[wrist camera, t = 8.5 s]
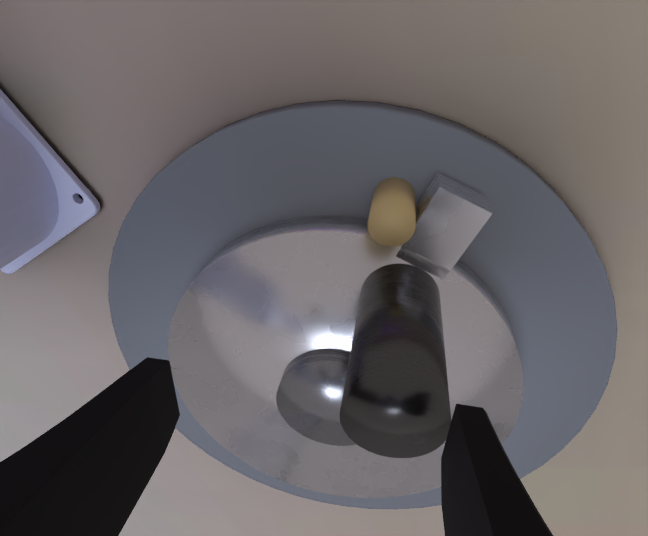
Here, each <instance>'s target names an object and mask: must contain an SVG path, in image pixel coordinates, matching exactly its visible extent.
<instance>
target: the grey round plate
mask: <svg viewBox="0 0 648 536" xmlns="http://www.w3.org/2000/svg"><path fill="white" fill-rule="evenodd" d="M437 172H438V173H440V174H442V175H444V176H446V177H448V178H450V179H452V180H454V181H456V182H458V183H460V184H462V185H464V186H466V187H468V188H470V189H472V190H474V191H476V192H478V193H480V194H482V195H484V196H486V197H487V200H488V203H489V205H490V208H491V211H492V213H493V214H492V215H491V216H490V218H489V219H488V220H487V222H486V223H485V225H484V226H483V227H482V229H481V230H480V231H479V233H478V234H477V235H476V237H475V238H474V239H473V241H472V242H471V243H470V245H469V246H468V247H467V249H466V250H465V252H464V253H463V254H462V256H461V257H460V258H459V260H460V261H461V262H463V263H464V264H465V265H467V266H468V267H469V268H470V269H471V270H472V271H473V272H474V273H475V274H476V275H477V276H478V277H479V278H480V279H481V280H482V281H483V282H484V283H485V284H486V285H487V287H488V288H489V289H490V291H491V292H492V294H493V295H494V296H495V298H496V299H497V300H498V302H499V304H500V306H501V307H502V309H503V311H504V313H505V315H506V317H507V319H508V321H509V325H510V328H511V331H512V334H513V337H514V340H515V344H516V347H517V350H518V354H519V357H520V360H521V365H522V373H523V381H524V385H523V400H522V404H521V408H520V412H519V415H518V418H517V420H516V423H515V425H514V427H513V429H512V431H511V433H510V434H509V436H508V437H507V439H506V440H505V441H504V443H503V444H502V446H503V448H504V450H505V452H506V454H507V456H508V458H509V460H510V462H511V464H512V466H513V468H514V470H515V471H516V473H517V475H518V477H519V479H521V478H522V477H524V476H525V475H527V474H529V473H530V472H532V471H534V470H535V469H537V468H539V467H540V466H542V465H543V464H544V463H546V462H547V461H548V460H550V459H551V458H552V457H553V456H555V455H556V454H557V453H558V452H560V451H561V450H562V449H563V448H564V447H565V446H566V445H567V444H568V443H569V442H570V441H571V440H572V439H573V438H574V437H575V436H576V435H577V434H578V433H579V431H580V430H581V429H582V428H583V426H584V425H585V423H586V422H587V420H588V419H589V418H590V416H591V415H592V413H593V412H594V411H595V409H596V407H597V405H598V403H599V401H600V399H601V397H602V395H603V393H604V391H605V388H606V386H607V384H608V381H609V377H610V373H611V370H612V366H613V363H614V359H615V351H616V339H617V321H616V311H615V302H614V296H613V293H612V290H611V286H610V283H609V280H608V276H607V273H606V270H605V267H604V265H603V263H602V261H601V259H600V257H599V255H598V253H597V251H596V249H595V247H594V245H593V243H592V241H591V239H590V238H589V236H588V234H587V233H586V232H585V230H584V229H583V228H582V226H581V225H580V223H579V222H578V221H577V219H576V218H575V217H574V215H573V214H572V213H571V211H570V210H569V209H568V208H567V206H566V205H565V204H564V202H563V201H562V200H561V198H560V197H559V196H558V194H557V193H556V192H555V190H554V189H553V188H551V187H550V186H549V185H548V184H547V183H546V182H545V181H544V180H543V179H542V178H541V177H540V176H539V175H538V174H537V173H536V172H535V171H534V170H533V169H532V168H531V167H530V166H528V165H527V164H526V163H525V162H523V161H522V160H520V159H519V158H517V157H516V156H515V155H513V154H512V153H510V152H509V151H507V150H506V149H505V148H503V147H502V146H500V145H499V144H497V143H496V142H494V141H492V140H490V139H488V138H486V137H484V136H482V135H480V134H478V133H476V132H475V131H473V130H471V129H469V128H467V127H465V126H463V125H461V124H459V123H456V122H453V121H450V120H447V119H444V118H441V117H438V116H435V115H432V114H429V113H426V112H423V111H420V110H416V109H411V108H405V107H400V106H395V105H389V104H384V103H379V102H362V101H342V100H333V101H322V102H311V103H300V104H294V105H289V106H285V107H281V108H277V109H272V110H268V111H264V112H260V113H257V114H255V115H252V116H250V117H247V118H245V119H242V120H240V121H237V122H235V123H232V124H230V125H227V126H225V127H224V128H222V129H220V130H218V131H217V132H215V133H213V134H212V135H210V136H208V137H207V138H205V139H203V140H202V141H200V142H198V143H197V144H195V145H194V146H192V147H191V148H189V149H188V150H186V151H185V152H183V153H182V154H181V155H179V156H178V157H177V158H176V159H175V160H173V161H172V162H171V163H170V164H169V165H167V166H166V167H165V168H164V169H163V170H162V171H160V172H159V173H158V174H157V175H156V176H155V177H154V178H153V180H152V181H151V182H150V183H149V184H148V185H147V187H146V188H145V189H144V190H143V191H142V193H141V194H140V195H139V196H138V197H137V199H136V201H135V202H134V204H133V206H132V207H131V209H130V211H129V213H128V214H127V216H126V218H125V219H124V221H123V223H122V226H121V229H120V231H119V234H118V237H117V239H116V242H115V245H114V248H113V253H112V259H111V264H110V270H109V304H110V311H111V318H112V324H113V327H114V330H115V334H116V337H117V341H118V344H119V347H120V349H121V351H122V353H123V356H124V358H125V360H126V363H127V365H128V367H129V369H130V370H131V369H132V368H134V367H135V366H136V365H137V364H139V363H140V362H141V361H143V360H144V359H146V358H147V357H149V358H156V359H163V360H169V355H168V336H169V330H170V325H171V321H172V317H173V315H174V312H175V310H176V308H177V305H178V303H179V301H180V299H181V298H182V296H183V295H184V293H185V292H186V290H187V289H188V287H189V286H190V285H191V283H192V282H193V281H194V279H195V278H196V277H197V276H198V274H199V273H200V272H201V270H202V269H203V268H204V267H205V266H206V265H207V264H208V263H209V261H210V260H211V259H212V258H213V257H214V256H215V255H216V254H217V253H219V252H220V251H221V250H223V249H224V248H225V247H226V246H228V245H229V244H230V243H232V242H233V241H235V240H237V239H239V238H241V237H243V236H244V235H246V234H248V233H250V232H252V231H255V230H257V229H260V228H263V227H266V226H268V225H271V224H274V223H279V222H283V221H288V220H292V219H297V218H308V217H319V216H329V217H351V218H357V219H364V220H368V231H369V233H370V235H371V237H372V238H373V239H374V240H375V241H376V242H378V243H380V244H382V245H385V246H399V245H402V244H404V243H406V242H407V241H408V240H409V239H410V238H411V237H412V236H413V234H414V232H415V227H416V212H415V208H416V206H417V204H418V203H419V201H420V199H421V198H422V196H423V195H424V193H425V191H426V190H427V188H428V187H429V185H430V183H431V182H432V180H433V179H434V177H435V175H436V174H437ZM173 382H174V379H173ZM174 387H175V392H176V397H177V402H178V407H179V413H180V416H179V419H178V421H177V424H176V426H175V428H176V429H177V430H179V431H180V432H181V433H182V434H183V435H184V436H185V437H186V438H188V439H189V440H190V441H191V442H192V443H194V444H195V445H197V446H198V447H199V448H201V449H202V450H203V451H205V452H206V453H207V454H209V455H210V456H212V457H213V458H215V459H217V460H218V461H220V462H222V463H223V464H225V465H226V466H228V467H230V468H232V469H233V470H235V471H237V472H239V473H241V474H243V475H245V476H247V477H249V478H251V479H253V480H256V481H258V482H260V483H263V484H265V485H268V486H270V487H272V488H275V489H278V490H281V491H284V492H287V493H290V494H293V495H296V496H299V497H303V498H307V499H311V500H315V501H319V502H324V503H330V504H335V505H341V506H348V507H358V508H368V509H409V508H423V507H430V506H437V505H442V502H441V487H438V488H435V489H431V490H428V491H425V492H420V493H415V494H410V495H405V496H396V497H387V498H359V497H346V496H338V495H331V494H326V493H321V492H317V491H312V490H308V489H305V488H302V487H298V486H295V485H292V484H289V483H287V482H284V481H281V480H279V479H276V478H274V477H272V476H270V475H267V474H265V473H263V472H261V471H259V470H257V469H255V468H254V467H252V466H250V465H249V464H247V463H245V462H243V461H242V460H240V459H239V458H237V457H236V456H235V455H233V454H232V453H230V452H229V451H227V450H226V449H225V448H224V447H223V446H221V445H220V444H219V443H218V442H217V441H215V440H214V439H213V438H212V437H211V436H210V435H209V434H208V433H207V432H206V431H205V430H204V429H203V428H202V427H201V425H200V424H199V423H198V422H197V420H196V419H195V418H194V416H193V415H192V414H191V413H190V411H189V409H188V408H187V406H186V405H185V403H184V401H183V400H182V398H181V396H180V394H179V391H178V389H177V387H176V385H175V382H174Z"/></svg>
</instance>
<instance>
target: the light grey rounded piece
mask: <svg viewBox="0 0 648 536" xmlns="http://www.w3.org/2000/svg"><path fill="white" fill-rule="evenodd" d="M415 212H416V227H415V232H414V234H413V236H412V237H411V238H410V239H409V240H408V241H407V242H406V243H404V244H402V245H399V246H385V245H382V244H380V243H378V242H376V241H375V240H374V239H373V238H372V237H371V235H370V233H369V231H368V220H364V219H357V218H351V217H329V216H319V217H308V218H297V219H292V220H288V221H283V222H279V223H274V224H271V225H268V226H266V227H263V228H260V229H257V230H255V231H252V232H250V233H248V234H246V235H244V236H243V237H241V238H239V239H237V240H235V241H233V242H232V243H230V244H229V245H228V246H226V247H225V248H224V249H223V250H221V251H220V252H219V253H217V254H216V255H215V256H214V257H213V258H212V259H211V260H210V261H209V263H208V264H207V265H206V266H205V267H204V268H203V269H202V270H201V272H200V273H199V274H198V276H197V277H196V278H195V279H194V281H193V282H192V283H191V285H190V286H189V287H188V289H187V290H186V292H185V293H184V295H183V296H182V298H181V299H180V301H179V303H178V305H177V308H176V310H175V312H174V315H173V317H172V321H171V325H170V330H169V336H168V355H169V361H170V366H171V371H172V376H173V379H174V382H175V385H176V387H177V389H178V391H179V394H180V396H181V398H182V400H183V401H184V403H185V405H186V406H187V408H188V409H189V411H190V413H191V414H192V415H193V416H194V418H195V419H196V420H197V422H198V423H199V424H200V425H201V427H202V428H203V429H204V430H205V431H206V432H207V433H208V434H209V435H210V436H211V437H212V438H213V439H214V440H215V441H217V442H218V443H219V444H220V445H221V446H223V447H224V448H225V449H226V450H227V451H229V452H230V453H232V454H233V455H235V456H236V457H237V458H239V459H240V460H242V461H243V462H245V463H247V464H249V465H250V466H252V467H254V468H255V469H257V470H259V471H261V472H263V473H265V474H267V475H270V476H272V477H274V478H276V479H279V480H281V481H284V482H287V483H289V484H292V485H295V486H298V487H302V488H305V489H308V490H312V491H317V492H321V493H326V494H331V495H338V496H346V497H359V498H387V497H396V496H405V495H410V494H415V493H420V492H425V491H428V490H431V489H435V488H438V487H441V457H442V453H443V449H444V446H445V442H446V439H447V435H448V431H449V428H450V424H451V421H452V417H453V413H454V410H455V406H456V404H462V405H468V406H475V407H482V408H483V409H484V410H485V411H486V412H487V415H488V417H489V419H490V421H491V424H492V426H493V428H494V430H495V432H496V434H497V436H498V438H499V440H500V442H501V444H503V443H504V441H505V440H506V439H507V437H508V436H509V434H510V433H511V431H512V429H513V427H514V425H515V423H516V420H517V418H518V415H519V412H520V408H521V404H522V400H523V385H524V381H523V373H522V365H521V360H520V357H519V354H518V350H517V347H516V344H515V340H514V337H513V334H512V331H511V328H510V325H509V321H508V319H507V317H506V315H505V313H504V311H503V309H502V307H501V306H500V304H499V302H498V300H497V299H496V298H495V296H494V295H493V294H492V292H491V291H490V289H489V288H488V287H487V285H486V284H485V283H484V282H483V281H482V280H481V279H480V278H479V277H478V276H477V275H476V274H475V273H474V272H473V271H472V270H471V269H470V268H469V267H468V266H467V265H465V264H464V263H463V262H461V261H460V260H459V258H460V257H461V256H462V254H463V253H464V252H465V250H466V249H467V247H468V246H469V245H470V243H471V242H472V241H473V239H474V238H475V237H476V235H477V234H478V233H479V231H480V230H481V229H482V227H483V226H484V225H485V223H486V222H487V220H488V219H489V218H490V216H491V215H492V214H493V213H492V211H491V208H490V205H489V203H488V200H487V197H486V196H484V195H482V194H480V193H478V192H476V191H474V190H472V189H470V188H468V187H466V186H464V185H462V184H460V183H458V182H456V181H454V180H452V179H450V178H448V177H446V176H444V175H442V174H440V173H438V172H437V174H436V175H435V177H434V179H433V180H432V182H431V183H430V185H429V187H428V188H427V190H426V191H425V193H424V195H423V196H422V198H421V199H420V201H419V203H418V204H417V206H416V208H415Z"/></svg>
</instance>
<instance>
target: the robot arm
mask: <svg viewBox="0 0 648 536" xmlns="http://www.w3.org/2000/svg"><path fill="white" fill-rule="evenodd" d="M78 194H80V195H81V196H82V198H83V200H82V199H81V198H80V197H79V196H78ZM99 211H100V204H99V202H98V200H97V199H96V198H95V197H94V196H93V195H92V193H91V192H90V191H89V190H88V189H87V188H86V187H85V185H84V184H83V183H82V182H81V181H80V180H79V178H78V177H77V176H76V175H75V174H74V173H73V172H72V170H71V169H70V168H69V167H68V166H67V165H66V164H65V162H64V161H63V160H62V159H61V158H60V157H59V156H58V154H57V153H56V152H55V151H54V150H53V149H52V148H51V146H50V145H49V144H48V143H47V142H46V141H45V140H44V138H43V137H42V136H41V135H40V134H39V133H38V132H37V130H36V129H35V128H34V127H33V126H32V125H31V124H30V122H29V121H28V120H27V119H26V118H25V117H24V116H23V114H22V113H21V112H20V111H19V110H18V109H17V107H16V106H15V105H14V104H13V103H12V102H11V101H10V99H9V98H8V97H7V96H6V95H5V94H4V93H3V91H2V90H1V89H0V270H1V271H2V272H4V273H7V274H11V273H14V272H15V271H16V270H18V269H19V268H21V267H22V266H24V265H25V264H26V263H28V262H29V261H31V260H32V259H33V258H35V257H36V256H38V255H39V254H41V253H42V252H43V251H45V250H46V249H48V248H49V247H50V246H52V245H53V244H55V243H56V242H58V241H59V240H60V239H62V238H63V237H65V236H66V235H68V234H69V233H70V232H72V231H73V230H75V229H76V228H77V227H79V226H80V225H82V224H83V223H85V222H86V221H87V220H89V219H90V218H92V217H93V216H94V215H96V214H97V213H98V212H99ZM179 416H180V413H179V407H178V402H177V397H176V392H175V387H174V382H173V376H172V371H171V366H170V361H169V360H163V359H156V358H149V357H147V358H146V359H144V360H143V361H141V362H140V363H139V364H137V365H136V366H135V367H134V368H132V369H131V370H130V371H128V372H127V373H126V374H124V375H123V376H122V377H120V378H119V379H118V380H117V381H115V382H114V383H113V384H111V385H110V386H109V387H107V388H106V389H105V390H103V391H102V392H101V393H100V394H98V395H97V396H96V397H94V398H93V399H92V400H90V401H89V402H87V403H86V404H85V405H83V406H82V407H81V408H79V409H78V410H77V411H75V412H74V413H73V414H71V415H70V416H69V417H67V418H66V419H64V420H63V421H62V422H60V423H59V424H57V425H56V426H54V427H53V428H51V429H50V430H48V431H47V432H46V433H44V434H43V435H41V436H40V437H38V438H37V439H35V440H34V441H33V442H31V443H30V444H28V445H27V446H25V447H24V448H22V449H21V450H19V451H17V452H16V453H14V454H13V455H11V456H10V457H8V458H6V459H5V460H3V461H2V462H0V536H118V535H119V533H120V532H121V530H122V528H123V526H124V524H125V523H126V521H127V519H128V517H129V516H130V514H131V512H132V510H133V508H134V507H135V505H136V503H137V501H138V500H139V498H140V496H141V494H142V493H143V491H144V489H145V487H146V485H147V484H148V482H149V480H150V478H151V476H152V475H153V473H154V471H155V469H156V467H157V466H158V464H159V462H160V460H161V458H162V456H163V455H164V453H165V450H166V448H167V446H168V443H169V441H170V439H171V436H172V434H173V431H174V429H175V426H176V424H177V421H178V419H179ZM441 502H442V512H443V521H444V529H445V536H553V535H552V533H551V532H550V530H549V528H548V527H547V525H546V524H545V522H544V520H543V519H542V517H541V515H540V514H539V512H538V510H537V509H536V507H535V505H534V503H533V502H532V500H531V498H530V496H529V495H528V493H527V491H526V489H525V488H524V486H523V484H522V482H521V481H520V479H519V477H518V475H517V473H516V471H515V470H514V468H513V466H512V464H511V462H510V460H509V458H508V456H507V454H506V452H505V450H504V448H503V446H502V444H501V442H500V440H499V438H498V436H497V434H496V432H495V430H494V428H493V426H492V424H491V421H490V419H489V417H488V415H487V412H486V411H485V410H484V409H483V408H482V407H475V406H468V405H462V404H456V406H455V410H454V413H453V417H452V421H451V424H450V428H449V431H448V435H447V439H446V442H445V446H444V449H443V453H442V457H441Z"/></svg>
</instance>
